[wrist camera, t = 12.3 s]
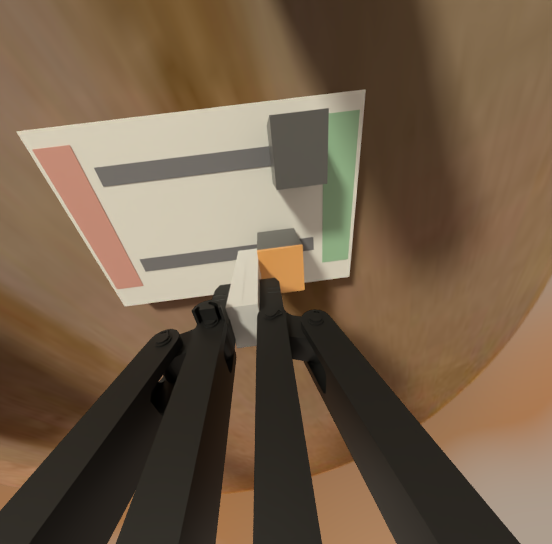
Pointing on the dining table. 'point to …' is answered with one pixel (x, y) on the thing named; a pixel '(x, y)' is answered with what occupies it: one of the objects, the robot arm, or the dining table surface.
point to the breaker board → (207, 189)
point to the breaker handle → (281, 258)
